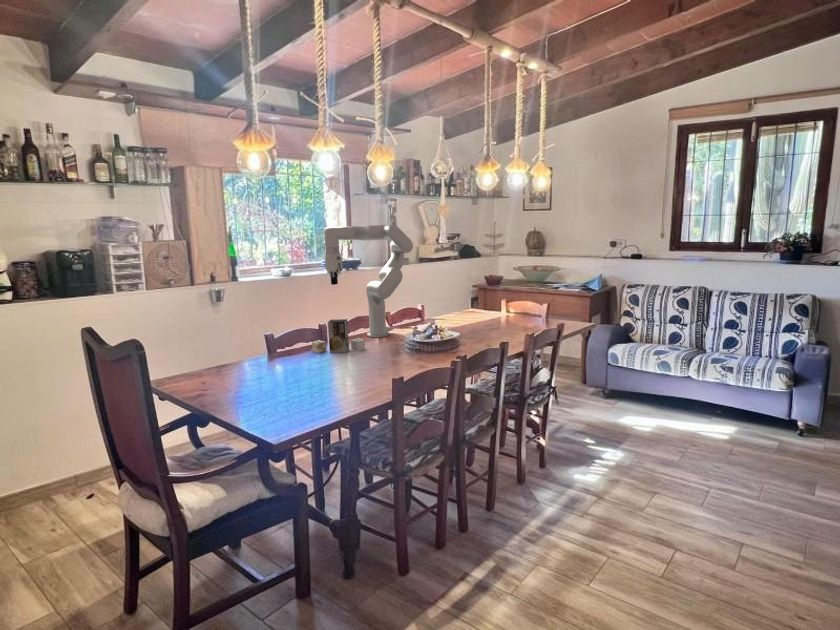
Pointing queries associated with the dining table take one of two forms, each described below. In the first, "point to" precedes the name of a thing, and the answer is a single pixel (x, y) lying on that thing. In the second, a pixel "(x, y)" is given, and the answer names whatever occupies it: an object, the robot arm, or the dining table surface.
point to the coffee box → (338, 335)
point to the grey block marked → (358, 344)
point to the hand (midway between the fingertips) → (334, 284)
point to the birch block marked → (318, 346)
